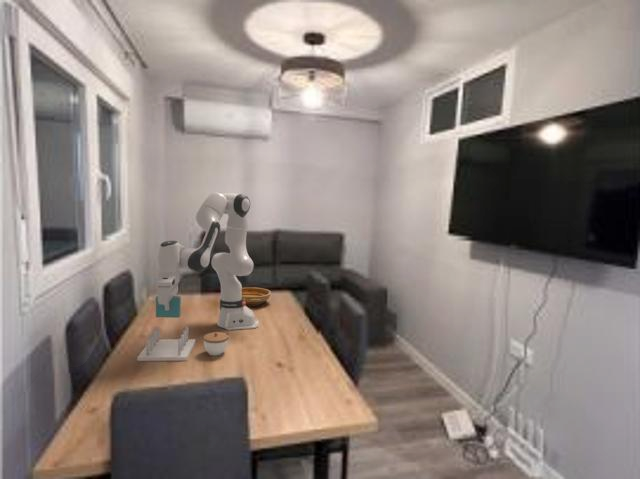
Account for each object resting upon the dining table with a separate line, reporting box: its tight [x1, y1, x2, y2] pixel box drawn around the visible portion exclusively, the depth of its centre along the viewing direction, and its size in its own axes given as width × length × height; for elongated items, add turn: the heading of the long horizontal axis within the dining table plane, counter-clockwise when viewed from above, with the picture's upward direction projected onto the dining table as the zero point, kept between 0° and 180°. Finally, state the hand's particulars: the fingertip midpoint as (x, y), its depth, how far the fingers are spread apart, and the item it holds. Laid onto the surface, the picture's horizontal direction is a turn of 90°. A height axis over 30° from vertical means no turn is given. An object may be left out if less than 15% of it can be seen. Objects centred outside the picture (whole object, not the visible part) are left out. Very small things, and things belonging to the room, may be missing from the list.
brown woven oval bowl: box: [242, 287, 272, 307], centre depth 252 cm, size 30×24×8 cm
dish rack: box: [136, 326, 196, 362], centre depth 172 cm, size 20×20×8 cm
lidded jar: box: [203, 331, 229, 357], centre depth 173 cm, size 11×11×9 cm
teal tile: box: [155, 295, 182, 319], centre depth 171 cm, size 10×2×9 cm, turn 98°
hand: (168, 308), depth 171 cm, fingers closed on teal tile, 2 cm apart
